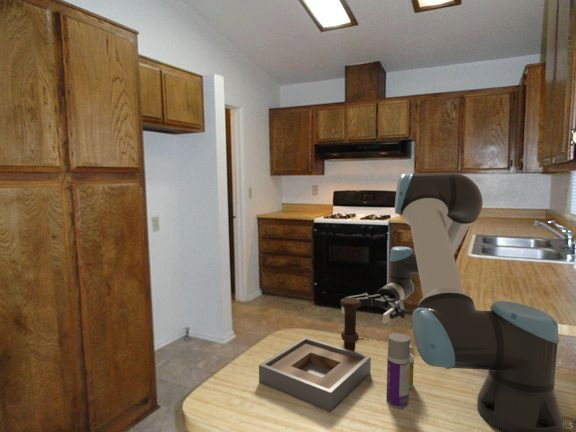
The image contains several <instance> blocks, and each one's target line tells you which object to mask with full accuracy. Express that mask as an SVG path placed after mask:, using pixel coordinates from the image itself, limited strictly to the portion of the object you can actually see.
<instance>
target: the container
mask: <svg viewBox="0 0 576 432" xmlns="http://www.w3.org/2000/svg"><path fill="white" fill-rule="evenodd" d="M410 342H411V339H410V337H409V336H408V335H407V334H404V333H399V332H396V333H391V334H388V342H387V344H388V345H387V359H386V361H387V363H386V399H385V402H386V404H387V405H388V406H389V407H392V408H393V407H394V409H398V410H401V409H405V408H408V406H409V394H410V392H409V391H410V388H409V368H410V345H411V343H410Z"/></svg>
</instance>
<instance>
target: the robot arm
mask: <svg viewBox="0 0 576 432" xmlns="http://www.w3.org/2000/svg"><path fill="white" fill-rule="evenodd" d="M395 191H396V192H395V200H394V213H395V214H396V215H399V216H402V219H403V221H404V223H406V225H408V226H409V227H410V231H411V236H412V242H413V248H414V252H413V249H412V248H411V247H409V246H393V247H392V248H391V249H390V255H389V280H388V281H389V282H388V284H385V285H384V286H382V287H381V288H379V289H378V290H377V291H376V292H375V294H373V295H369V293H368V292H364V293H361V294H356V295H349V296H345V297H344V298H355V299H358V300H359V301H360V302H361V307H364V306H368V307H376V308H379V307H380V308H381V309H383V310H386V312H384V313H383V314H382V324H384V325H385V324H387V323H388V322H390V321H391V320H394V319H396V318H399V317H400V319H401V318H402V319H405V317H406V316H405V315H406V309H405V305H404V302H405V300H406V299H408V298H410V296H411V295H412V294H413V293H414V290H415V285H414V282H413V281H412V274H417V275H418V276H419V277H418V278H419V282H420V289H421V294H422V298H421V299H420V300H419V302H418V303H417V308H416V309H414V310H413V311H412V316H411V325H412V335H413V340H414V344H415V347H416V350H417V353H418V355H419V357H420V358H421V360H422V361H423V362H424V363H425V364H426V365H428V366H430V367H437V368H444V369H447V370H450V369H451V370H452V369H464V370H466V369H467V370H483V371H484V370H485V371H487V370H488V372H487V375H486V376H485V379H484V382H482V383H483V384H482V385H481V388H480V390H479V392H478V394H477V400H476V407H477V408H476V409H477V411H478V414H480V416H481V417H482V418H483V419H484V420H485V421H486V422H487V423H488V424H490V425H491V426H493V427H494V428H496V429H498V430H499V431H501V432H563V423H564V418H563V415H562V411H561V408H560V405H559V402H558V397H557V394H556V391H555V384H556V383H555V382H556V381H555V380H556V370H557V358H558V345H559V343H560V339H559V324H558V322H557V320H556V319H555V318H554V317H553V316H552V315H550V314H549V313H547V312H545V311H543V310H540V309H538V308H535V307H533V306H528V305H526V304H522V303H518V302H512V301H505V300H503V301H502V300H500V301H495V302H493V303H492V304H491V306H490V310H483V309H481V310H480V309H479V310H477V309H476V306H475V302H474V299H473V298H472V297H471V296H470V295H469V294H466V293H465V292H464V290H463V286H462V282H461V278H460V274H459V272H458V267H457V264H456V258H455V256H454V255H456V254H455V253H456V251H457V250H458V248H459V245H460V244H461V242H462V240H463V238H464V236H465V234H466V233H467V230H468V229H469V227H470V225H471V224H473V223H474V222H476V221H477V220H478V219H479V217H480V215H481V214H482V213H481V212H482V210H483V204H484V203H483V201H484V200H483V195H482V192H481V190H480V188H479V187H478V185H477V184H476V182H474V180H472V179H471V178H469V177H468V176H466V175H464V174H462V173H457V172H449V173H445V172H437V173H436V172H410V173H409V172H407V173H403V174H401V175H399V177H398V181H397V186H396V190H395ZM341 314H343V315H345V311H344V308H343V307H342V306H341Z"/></svg>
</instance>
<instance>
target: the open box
mask: <svg viewBox="0 0 576 432" xmlns="http://www.w3.org/2000/svg"><path fill="white" fill-rule="evenodd" d="M305 343H309V344H313V345H316V346H319V347H322V348H326V349H329V350H332V351H335V352H338V353H342V354H345V355H348V356H351V357H355V358H358V359H361V361H360V362H359V363H358V364H357V365H356V366H355V367H354V368H352V369H351V370H350V371H349V372H348V373H347V374H346V375H344V376H343V377H342V378H341V379H340V380H339V381H338V382H337V383H335V384H334V385H333V386H332V387H331V388H330V389H328V388H325V387H322V386H320V385H317V384H315V383H312V382H309V381H307V380H304V379H301V378H299V377H296V376H294V375H291V374H288V373H286V372H283V371H280V370H278V369H275V368H273V367H270V365H271V364H273V363H275V362H276V361H278V360H279V359H281V358H282V357H284V356H286V355H287V354H289V353H290V352H292V351H294V350H295V349H297V348H298V347H300V346H302V345H303V344H305ZM371 359H372V358H371V356H370V355H367V354H363V353H360V352H356V351H355V350H354V351H350V350H347V349H344V347H341V346H336V345H334V344H330V343H327V342H323V341H320V340H317V339H314V338H310V337H308V336H304V337H302V338H301V339H299V340H298V341H296V342H294V343H293V344H291V345H290V346H288V347H286V348H285V349H282V351H280V352H277V353H276V354H274V355H273V356H271V357H270V358H267V359H266V360H265V361H263V362H262V363H260V364H258V383H259V384H261V385H264V386H267V387H269V388H271V389H272V390H276V391H278V392H280V393H283V394H285V395H288V396H289V397H292V398H295V399H297V400H299V401H302V402H304V403H307V404H309V405H311V406H313V407H316V408H318V409H321V410H323V411H326V412H328V413H332V412H333V411H334V410H335V409H336V408H338V406H339V405H340V404H341V403H342V402H343V401H344V400H345V399H347V397H348V396H349V395H351V393H353V391H355V389H357V388H358V387H359V385H360V384H362V383H363V382H364V381H365V380H366V378H367V377H369V376H370V375H371V365H372V364H371ZM302 370H303V371H306V372H308V373H311V374H314V375H316V376H319V377H323V376H325V375H326V374H327V373H328V372H330V371H331V370H329V369H326V368H323V367H320V366H317V365H314V364H311V363H310V364H309V365H308V366H306V367H305V368H303V369H302Z"/></svg>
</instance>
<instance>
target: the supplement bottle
mask: <svg viewBox="0 0 576 432" xmlns="http://www.w3.org/2000/svg"><path fill="white" fill-rule="evenodd" d="M414 364H415V359H414V355H413V354H412V345H411V344H410V368H409V389H411V388H412V387H413V386H414V367H415V365H414Z"/></svg>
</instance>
